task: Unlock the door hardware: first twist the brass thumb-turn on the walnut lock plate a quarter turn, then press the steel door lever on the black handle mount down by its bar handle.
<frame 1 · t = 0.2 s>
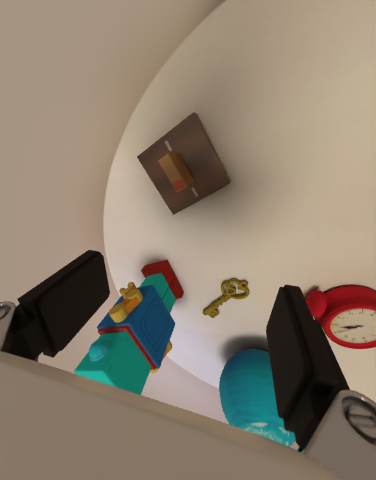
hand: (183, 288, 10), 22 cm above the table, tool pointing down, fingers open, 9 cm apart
toy robot: (166, 277, 40), on the table
thumbturn: (177, 171, 25), point 4 cm above the table, hinge at 0.0°
decorative orb: (256, 355, 43), on the table
key: (223, 294, 38), on the table
lock plate: (185, 168, 29), on the table
alarm clock: (334, 307, 34), on the table
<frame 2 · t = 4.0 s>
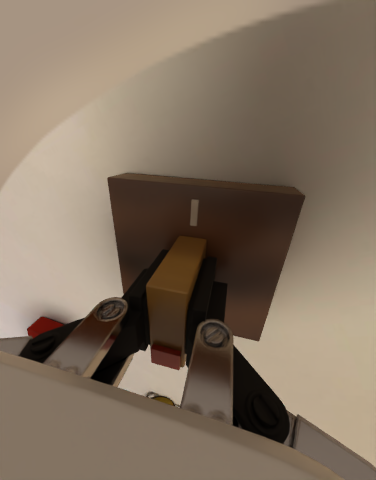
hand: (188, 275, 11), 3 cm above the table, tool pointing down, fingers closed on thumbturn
toy robot: (70, 344, 24), on the table
thumbturn: (180, 295, 10), point 4 cm above the table, hinge at 0.1°, touching gripper
lock plate: (197, 252, 14), on the table
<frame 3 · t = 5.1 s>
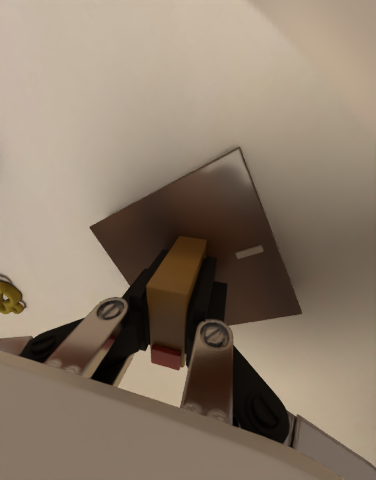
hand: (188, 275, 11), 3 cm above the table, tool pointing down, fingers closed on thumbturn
thumbturn: (180, 295, 10), point 4 cm above the table, hinge at 59.8°, touching gripper
lock plate: (197, 253, 14), on the table
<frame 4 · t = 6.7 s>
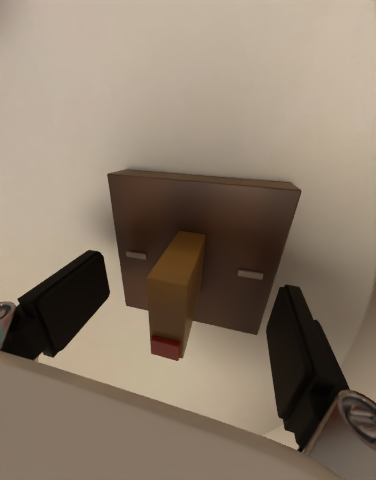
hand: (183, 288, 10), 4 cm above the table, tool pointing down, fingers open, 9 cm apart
thumbturn: (179, 289, 10), point 4 cm above the table, hinge at 89.5°
lock plate: (196, 248, 14), on the table
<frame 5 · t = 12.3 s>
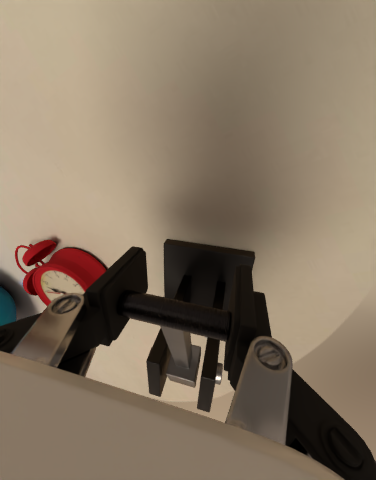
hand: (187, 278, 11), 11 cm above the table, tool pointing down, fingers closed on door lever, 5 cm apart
decorative orb: (5, 293, 37), on the table
door lever: (181, 348, 13), point 12 cm above the table, hinge at 20.0°, touching gripper
alarm clock: (74, 271, 29), on the table
black handle mount: (204, 286, 25), on the table
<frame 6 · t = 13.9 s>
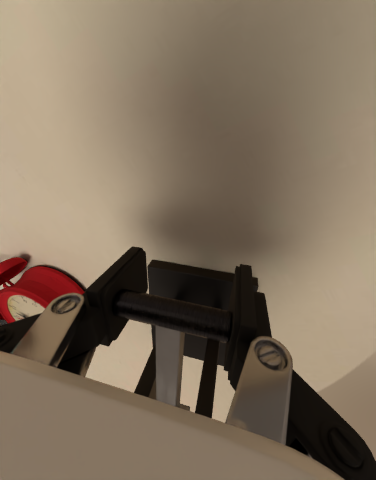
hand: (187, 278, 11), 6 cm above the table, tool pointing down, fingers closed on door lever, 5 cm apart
door lever: (168, 391, 10), point 10 cm above the table, hinge at -4.5°, touching gripper
alarm clock: (50, 290, 26), on the table
black handle mount: (197, 313, 21), on the table
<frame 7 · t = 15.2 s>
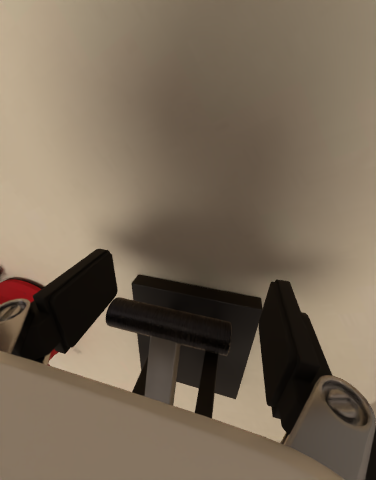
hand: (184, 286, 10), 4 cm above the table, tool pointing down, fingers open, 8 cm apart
door lever: (155, 434, 9), point 9 cm above the table, hinge at -18.8°
alarm clock: (28, 305, 23), on the table
black handle mount: (191, 335, 18), on the table
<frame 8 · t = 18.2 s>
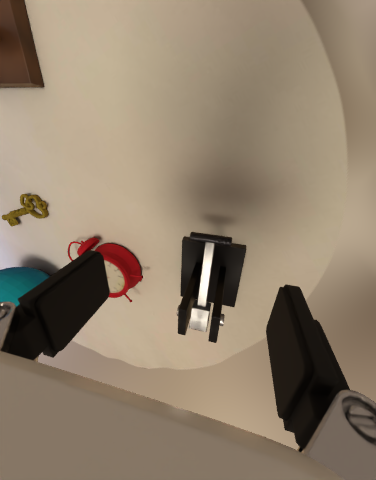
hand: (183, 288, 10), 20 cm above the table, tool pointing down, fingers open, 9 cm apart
decorative orb: (49, 280, 46), on the table
key: (27, 208, 38), on the table
door lever: (205, 281, 24), point 9 cm above the table, hinge at -18.8°
lock plate: (2, 40, 26), on the table
alarm clock: (110, 261, 39), on the table
black handle mount: (210, 271, 34), on the table
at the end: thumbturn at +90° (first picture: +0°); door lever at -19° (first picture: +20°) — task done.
